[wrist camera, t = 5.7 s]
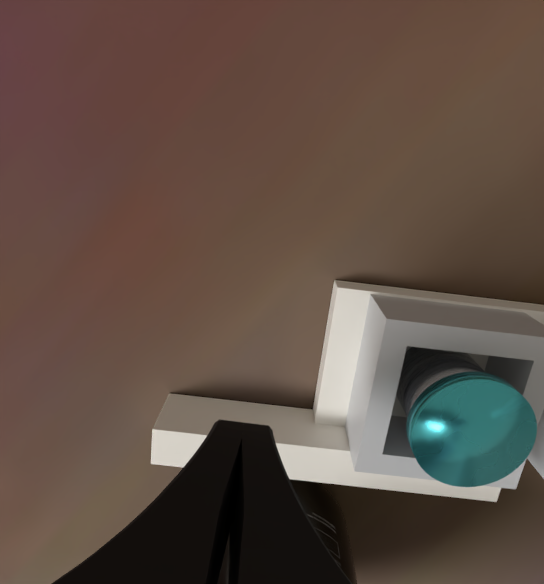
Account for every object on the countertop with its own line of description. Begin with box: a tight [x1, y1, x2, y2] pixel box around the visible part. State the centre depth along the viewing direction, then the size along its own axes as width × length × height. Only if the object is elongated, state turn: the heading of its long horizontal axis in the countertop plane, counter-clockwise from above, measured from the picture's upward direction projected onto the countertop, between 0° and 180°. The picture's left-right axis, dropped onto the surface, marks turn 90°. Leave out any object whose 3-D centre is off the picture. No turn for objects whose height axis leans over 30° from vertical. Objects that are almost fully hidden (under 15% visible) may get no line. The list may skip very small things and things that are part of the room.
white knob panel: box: [151, 280, 544, 502], centre depth 18 cm, size 18×21×4 cm
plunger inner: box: [396, 347, 537, 487], centre depth 15 cm, size 4×4×4 cm
